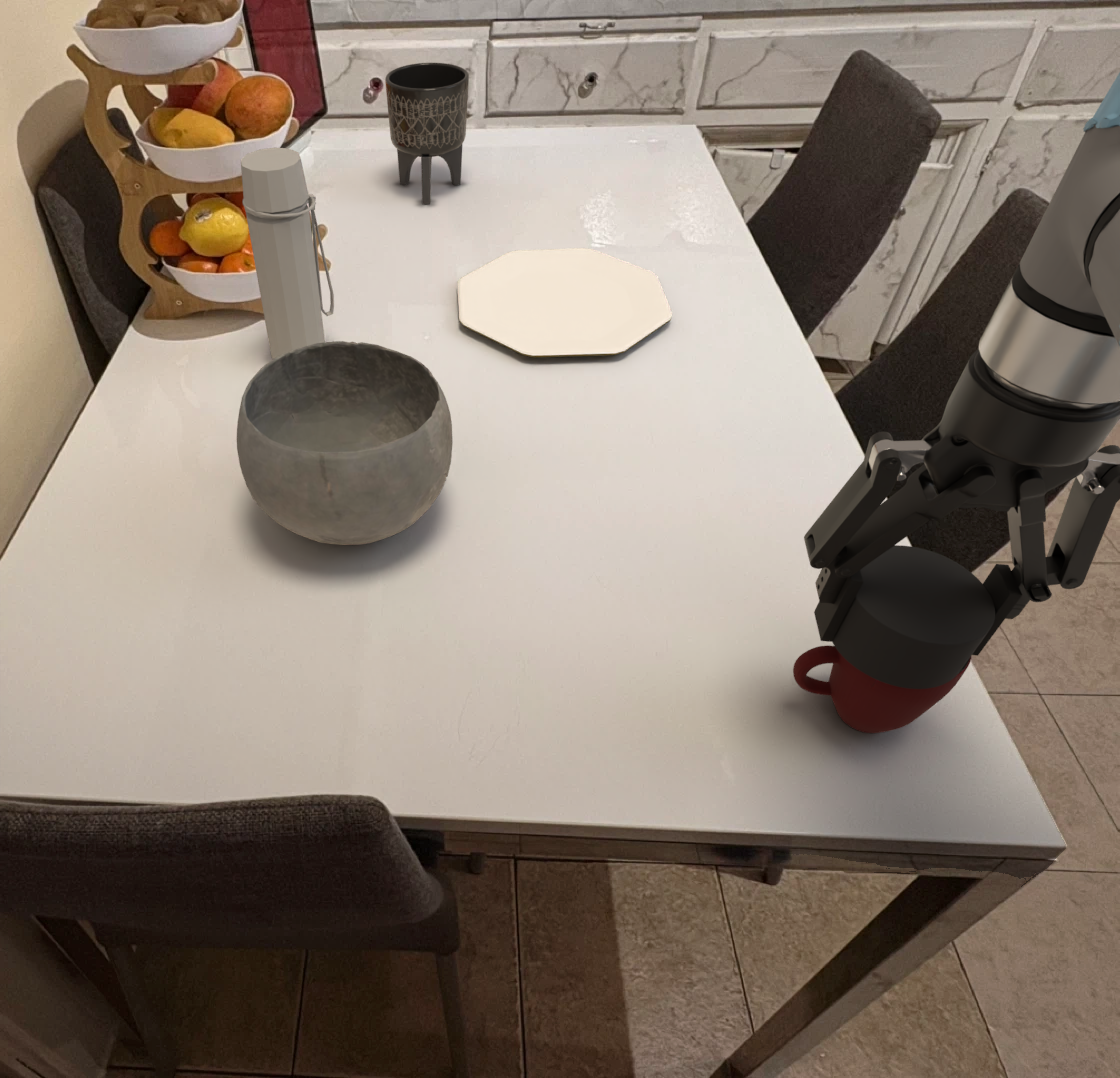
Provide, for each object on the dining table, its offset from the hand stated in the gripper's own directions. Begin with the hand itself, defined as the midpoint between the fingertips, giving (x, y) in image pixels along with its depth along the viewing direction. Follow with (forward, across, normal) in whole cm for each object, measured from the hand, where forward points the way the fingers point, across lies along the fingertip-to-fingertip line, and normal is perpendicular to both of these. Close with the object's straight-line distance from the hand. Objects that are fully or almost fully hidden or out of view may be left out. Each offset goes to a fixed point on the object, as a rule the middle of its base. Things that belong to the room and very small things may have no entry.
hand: (893, 633), depth 61 cm
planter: (+11, +48, -98) cm, 109 cm away
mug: (+10, 0, 0) cm, 10 cm away
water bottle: (+10, +56, -46) cm, 74 cm away
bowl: (+10, +45, -19) cm, 49 cm away
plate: (+11, +25, -61) cm, 67 cm away
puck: (0, 0, 0) cm, 0 cm away
